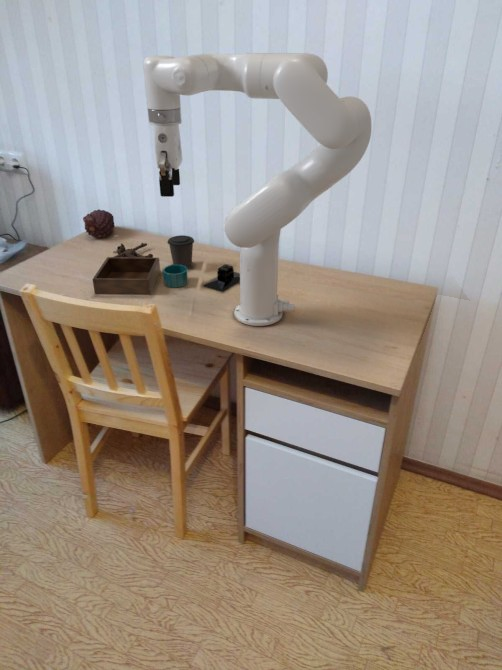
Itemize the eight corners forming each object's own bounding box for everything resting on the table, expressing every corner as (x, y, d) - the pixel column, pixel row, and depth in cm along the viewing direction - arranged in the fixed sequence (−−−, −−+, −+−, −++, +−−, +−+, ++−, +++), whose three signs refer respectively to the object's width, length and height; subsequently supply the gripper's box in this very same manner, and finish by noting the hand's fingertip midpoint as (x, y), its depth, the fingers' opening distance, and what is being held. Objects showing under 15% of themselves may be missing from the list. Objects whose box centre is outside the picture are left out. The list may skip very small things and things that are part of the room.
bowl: (189, 280, 158) (188, 264, 155) (186, 290, 152) (185, 274, 149) (166, 279, 158) (165, 264, 155) (162, 290, 152) (161, 274, 150)
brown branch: (128, 264, 160) (94, 249, 166) (128, 277, 163) (95, 262, 169) (168, 246, 173) (136, 232, 179) (168, 258, 175) (136, 244, 181)
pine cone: (94, 225, 198) (106, 202, 195) (116, 241, 198) (129, 218, 195) (70, 229, 181) (82, 204, 178) (93, 245, 181) (107, 221, 178)
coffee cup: (196, 272, 162) (195, 241, 157) (170, 274, 161) (167, 243, 156) (195, 262, 169) (193, 232, 164) (169, 264, 168) (166, 233, 163)
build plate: (222, 292, 151) (221, 277, 149) (202, 286, 155) (201, 271, 152) (247, 276, 160) (247, 262, 157) (228, 271, 163) (227, 257, 161)
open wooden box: (160, 273, 162) (159, 257, 159) (150, 297, 148) (148, 279, 146) (109, 273, 162) (107, 256, 159) (95, 296, 149) (92, 279, 146)
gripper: (175, 123, 115) (180, 201, 124) (186, 110, 130) (190, 181, 139) (140, 122, 115) (148, 200, 124) (155, 110, 130) (161, 180, 139)
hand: (170, 190), depth 131 cm, fingers open, 9 cm apart
